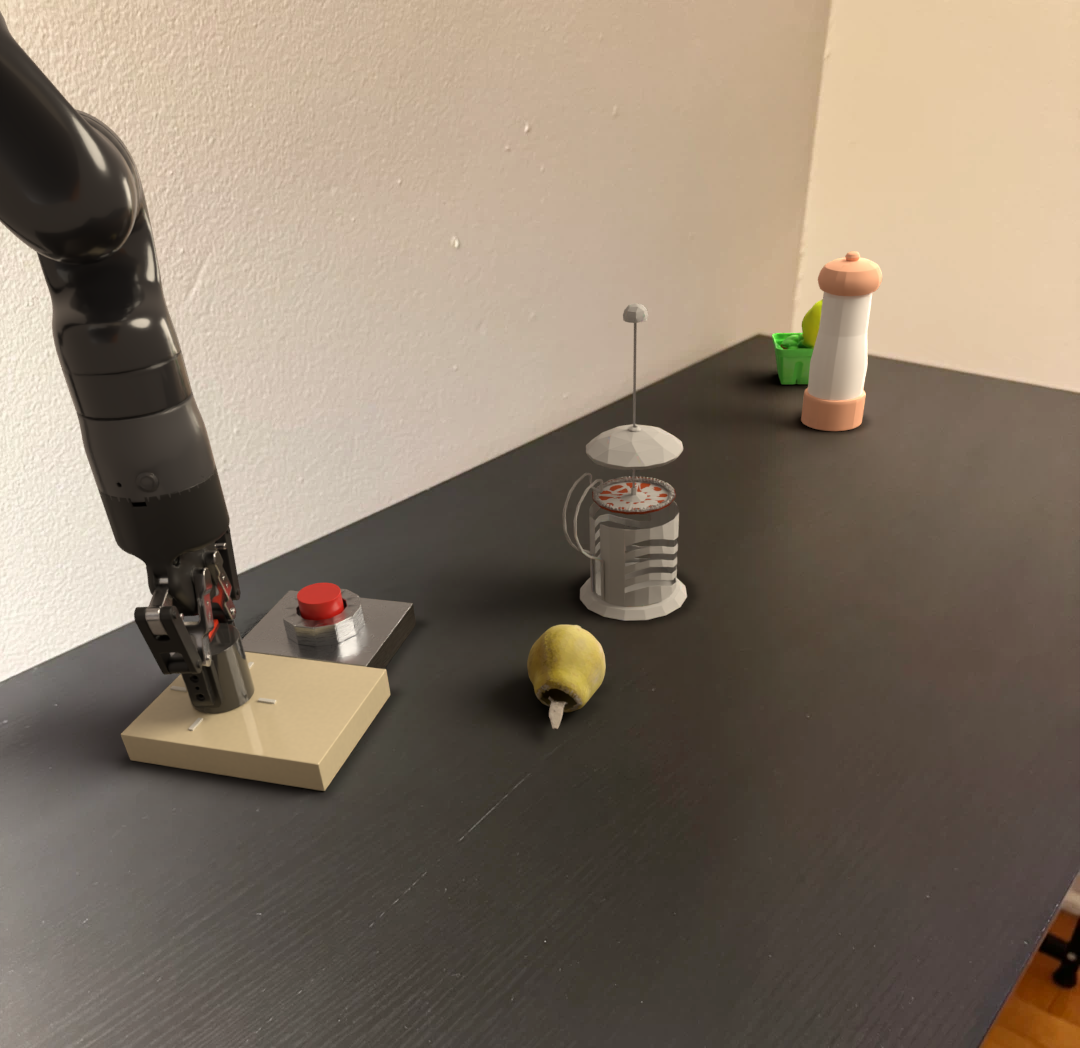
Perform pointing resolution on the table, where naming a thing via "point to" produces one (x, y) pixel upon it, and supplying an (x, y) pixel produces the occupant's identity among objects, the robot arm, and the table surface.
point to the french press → (617, 575)
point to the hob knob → (228, 667)
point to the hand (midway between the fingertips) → (219, 683)
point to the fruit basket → (797, 348)
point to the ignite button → (320, 601)
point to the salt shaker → (841, 345)
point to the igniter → (335, 631)
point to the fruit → (565, 669)
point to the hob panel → (266, 723)
